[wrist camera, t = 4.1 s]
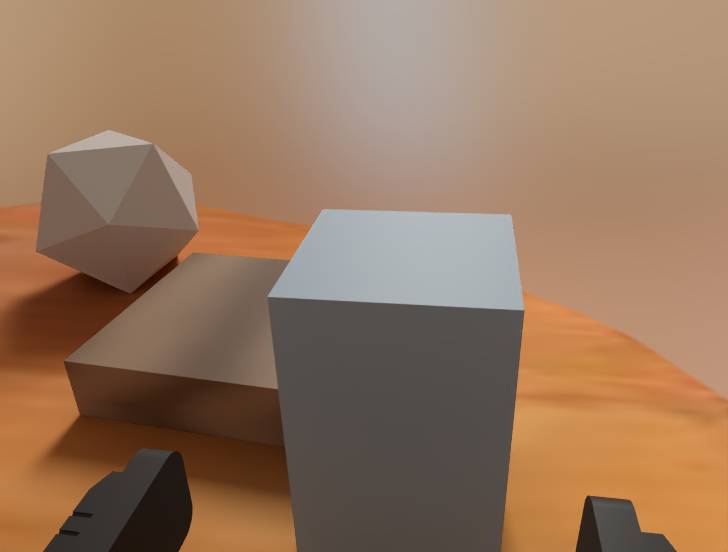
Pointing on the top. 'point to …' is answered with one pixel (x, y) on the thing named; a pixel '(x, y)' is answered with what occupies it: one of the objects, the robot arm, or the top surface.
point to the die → (115, 209)
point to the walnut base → (190, 354)
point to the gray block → (399, 379)
